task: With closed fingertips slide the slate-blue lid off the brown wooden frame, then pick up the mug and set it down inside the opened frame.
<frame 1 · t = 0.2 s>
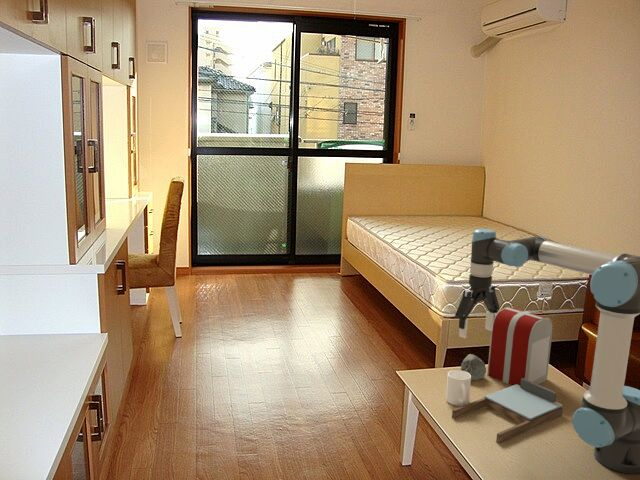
hand: (475, 333, 218), 28 cm above the table, fingers open, 13 cm apart
brown wooden frame: (521, 410, 223), on the table
red striped arch block: (516, 377, 250), on the table
lid: (523, 396, 222), point 5 cm above the table, slide at 0.0 cm
mug: (458, 404, 227), on the table
stone: (472, 377, 250), on the table
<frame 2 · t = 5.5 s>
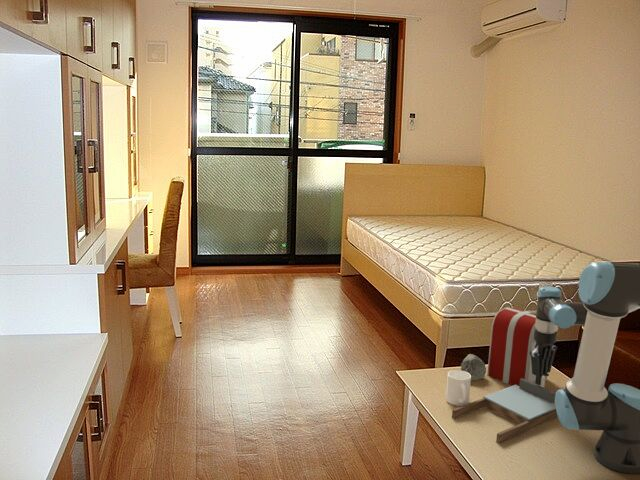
hand: (539, 391, 227), 5 cm above the table, fingers closed
lid: (522, 396, 221), point 5 cm above the table, slide at 0.5 cm, touching gripper
everything else where it was.
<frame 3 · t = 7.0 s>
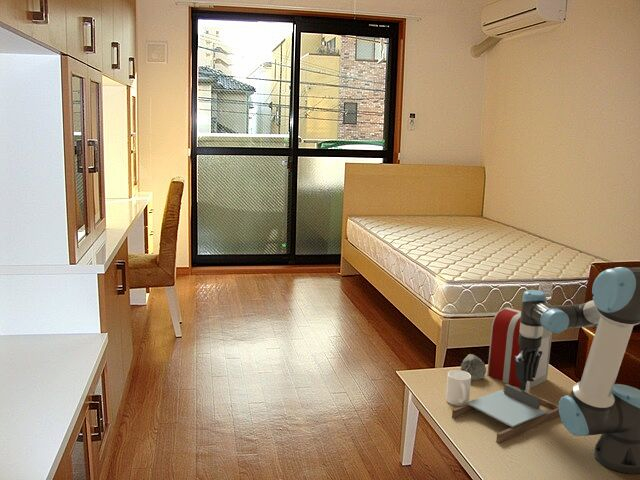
hand: (524, 397, 222), 5 cm above the table, fingers closed
lid: (506, 402, 216), point 5 cm above the table, slide at 9.2 cm, touching gripper
everything else where it was.
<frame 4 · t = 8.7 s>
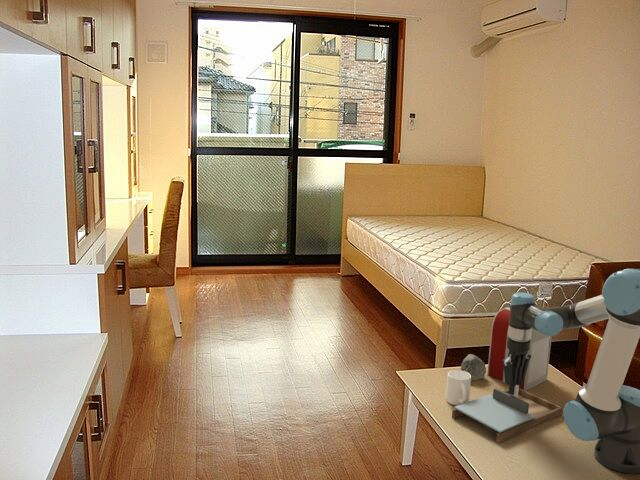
hand: (512, 402, 218), 5 cm above the table, fingers closed
lid: (494, 407, 213), point 5 cm above the table, slide at 15.4 cm, touching gripper
everything else where it was.
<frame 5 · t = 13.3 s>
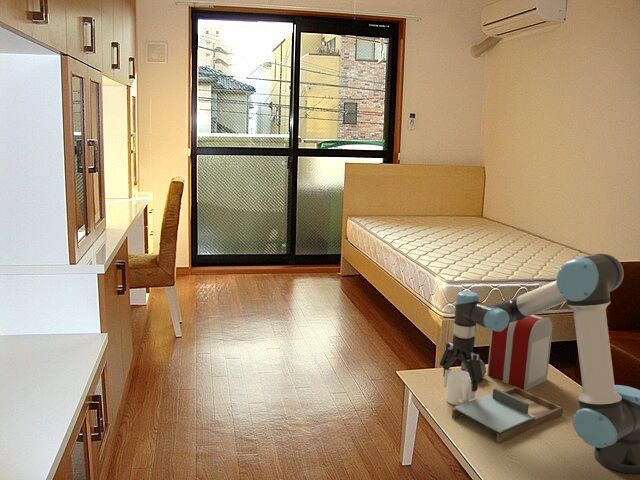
hand: (459, 392, 226), 4 cm above the table, fingers open, 11 cm apart
lid: (494, 407, 213), point 5 cm above the table, slide at 15.5 cm
mug: (458, 403, 227), on the table, touching gripper
everything else where it was.
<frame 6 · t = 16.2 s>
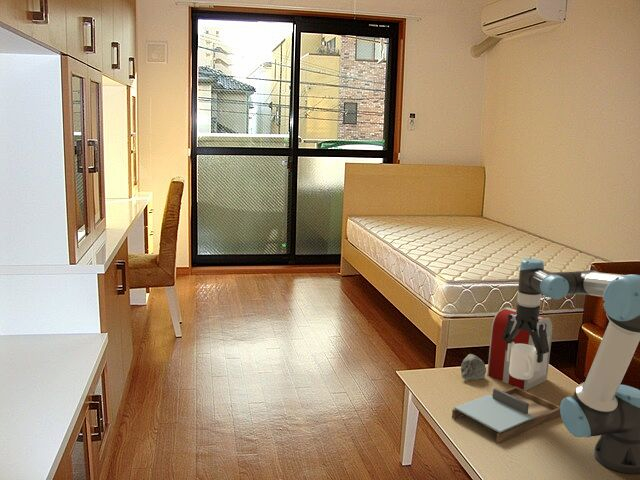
hand: (522, 365, 219), 17 cm above the table, fingers closed on mug, 10 cm apart
mug: (522, 378, 219), point 13 cm above the table, touching gripper
everything else where it was.
when the fingers open (6 cm above the table, at t = 19.1 s): mug stays where it is, resting on brown wooden frame.
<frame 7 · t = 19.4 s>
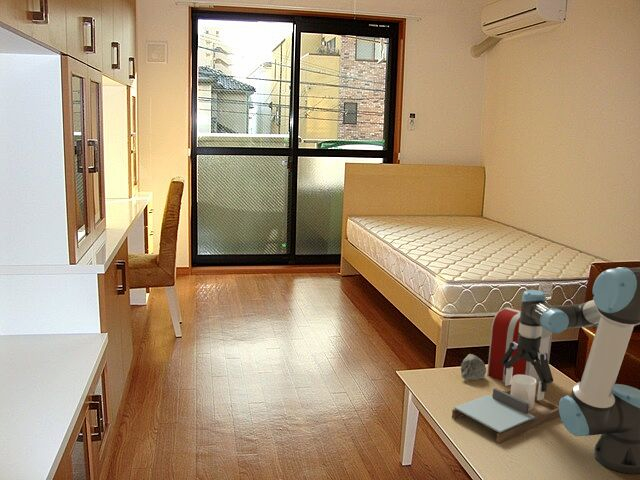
hand: (523, 391, 221), 7 cm above the table, fingers open, 13 cm apart
mug: (523, 409, 222), point 1 cm above the table, touching brown wooden frame
everything else where it was.
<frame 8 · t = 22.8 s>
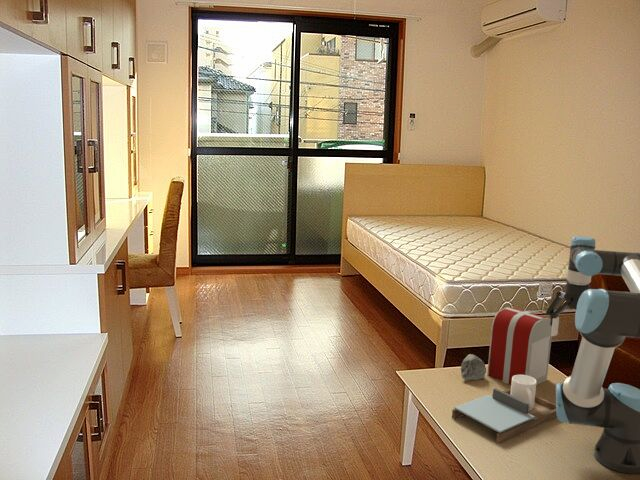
hand: (571, 341, 216), 27 cm above the table, fingers open, 13 cm apart
nothing on the table moved.
at the end: mug inside the target area on the brown wooden frame (0.6 cm from its centre), point 0.8 cm above the brown wooden frame's base; mug tilted 0°; lid slide at 15.5 cm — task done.
